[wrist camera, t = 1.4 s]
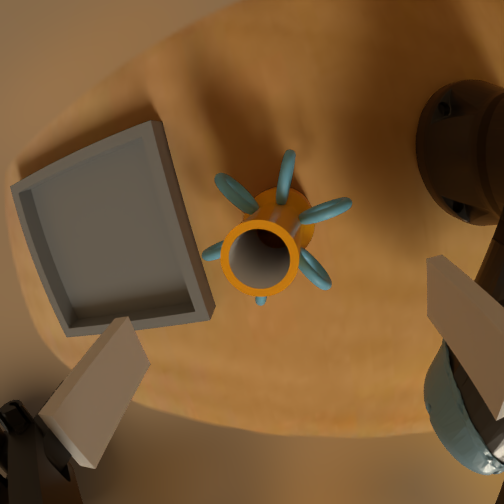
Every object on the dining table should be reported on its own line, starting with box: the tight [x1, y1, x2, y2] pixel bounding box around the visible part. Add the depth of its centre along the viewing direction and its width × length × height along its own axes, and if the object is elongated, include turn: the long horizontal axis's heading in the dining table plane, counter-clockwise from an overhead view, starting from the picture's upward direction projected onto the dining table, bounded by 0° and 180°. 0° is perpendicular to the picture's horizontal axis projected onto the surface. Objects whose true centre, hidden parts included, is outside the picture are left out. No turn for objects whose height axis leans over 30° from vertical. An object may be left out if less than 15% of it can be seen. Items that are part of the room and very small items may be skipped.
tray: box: [10, 120, 216, 337], centre depth 32 cm, size 20×20×3 cm
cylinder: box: [202, 150, 352, 306], centre depth 23 cm, size 12×10×15 cm
